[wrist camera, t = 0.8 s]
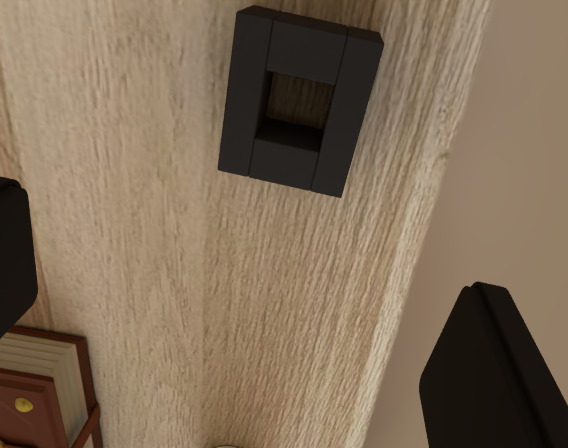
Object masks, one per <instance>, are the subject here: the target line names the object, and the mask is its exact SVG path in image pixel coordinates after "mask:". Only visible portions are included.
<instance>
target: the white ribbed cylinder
mask: <svg viewBox="0 0 568 448" xmlns="http://www.w3.org/2000/svg"><path fill="white" fill-rule="evenodd" d="M217 448H236V447H232V446H221V447H217Z"/></svg>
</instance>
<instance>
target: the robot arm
mask: <svg viewBox="0 0 568 448" xmlns="http://www.w3.org/2000/svg"><path fill="white" fill-rule="evenodd" d="M37 294H38V284H37V274H36V265H35V256H34V247H33V237H32V228H31V219H30V209H29V200H28V194H27V192H26V190H25V189H23V188H21V185H20V183H19V182H18V181H16V180H14V179H9V178H5V177H0V339H1V338H2V337H3V336H4V335H5V334H6V332H7V331H8V330H9V329H10V328H11V327H12V326H13V325H14V324H15V323H16V322H17V321H18V320H19V319H20V318H21V317H22V316H23V315H24V314H25V313H26V311H27V310H28V309H29V308H30V307H31V306H32V305H33V304H34V302H35V300H36V297H37ZM419 393H420V399H421V405H422V410H423V416H424V422H425V427H426V433H427V438H428V444H429V448H568V405H567V403H566V401H565V400H564V398H563V396H562V394H561V392H560V390H559V388H558V386H557V384H556V382H555V380H554V378H553V376H552V374H551V372H550V370H549V369H548V367H547V365H546V363H545V361H544V359H543V357H542V355H541V353H540V351H539V349H538V347H537V345H536V343H535V342H534V340H533V338H532V336H531V334H530V332H529V330H528V328H527V326H526V324H525V322H524V320H523V318H522V316H521V314H520V313H519V311H518V309H517V307H516V305H515V303H514V301H513V299H512V297H511V295H510V294H509V291H508V290H507V289H506V288H504V287H500V286H496V285H491V284H487V283H482V282H475V283H474V284H473V285H472V286H471V287H468V286H465V287H464V288H463V289H462V291H461V292H460V294H459V296H458V299H457V301H456V303H455V305H454V307H453V309H452V311H451V313H450V315H449V318H448V320H447V322H446V324H445V326H444V328H443V330H442V333H441V334H440V337H439V339H438V341H437V343H436V345H435V347H434V349H433V351H432V354H431V356H430V358H429V360H428V362H427V364H426V366H425V368H424V371H423V373H422V375H421V378H420V383H419Z"/></svg>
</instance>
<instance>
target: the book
mask: <svg viewBox="0 0 568 448" xmlns="http://www.w3.org/2000/svg"><path fill="white" fill-rule="evenodd" d="M99 418H100V410H99V405H98V403H95V399H94V393H93V386H92V380H91V374H90V367H89V361H88V355H87V349H86V342H85V339H84V338H78V337H72V336H67V335H61V334H55V333H49V332H43V331H37V330H31V329H25V328H20V327H14V326H12V327H11V328H10V329H9V330H8V331H7V332H6V334H5V335H4V336H3V337H2V338H1V339H0V448H102V443H101V436H100V430H99V424H98V420H99Z"/></svg>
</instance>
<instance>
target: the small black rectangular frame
mask: <svg viewBox="0 0 568 448" xmlns="http://www.w3.org/2000/svg"><path fill="white" fill-rule="evenodd" d="M383 48H384V42H383V40H382V38H381V35H380V33H379V32H374V31H370V30H365V29H360V28H356V27H351V26H348V27H347V26H346V25H342V24H337V23H333V22H328V21H324V20H319V19H315V18H310V17H305V16H301V15H296V14H292V13H287V12H284V13H283V12H282V11H278V10H273V9H269V8H264V7H260V6H255V5H253V6H250V7H247V8H245V9H242V10H240V11H237V13H236V22H235V30H234V38H233V46H232V55H231V63H230V71H229V79H228V88H227V96H226V104H225V112H224V121H223V129H222V137H221V145H220V154H219V162H218V170H219V171H224V172H228V173H233V174H237V175H242V176H246V177H247V176H248V175H249V177H250V178H254V179H259V180H263V181H268V182H272V183H277V184H281V185H286V186H290V187H294V188H299V189H303V190H308V191H310V190H311V191H312V192H316V193H321V194H325V195H329V196H334V197H338V198H341V197H342V193H343V190H344V186H345V183H346V179H347V175H348V172H349V168H350V165H351V161H352V158H353V154H354V151H355V147H356V143H357V140H358V136H359V133H360V129H361V126H362V122H363V119H364V115H365V111H366V108H367V104H368V101H369V97H370V94H371V90H372V87H373V83H374V80H375V76H376V72H377V69H378V65H379V62H380V58H381V55H382V51H383ZM273 72H277V73H282V74H286V75H291V76H295V77H300V78H304V79H309V80H314V81H318V82H323V83H327V84H332V85H334V86H333V90H332V94H331V99H330V103H329V107H328V111H327V115H326V120H325V124H324V128H323V130H322V129H318V128H313V127H309V126H304V125H300V124H295V123H291V122H286V121H282V120H277V119H273V118H268V117H267V118H266V114H267V108H268V102H269V96H270V90H271V84H272V78H273Z"/></svg>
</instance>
